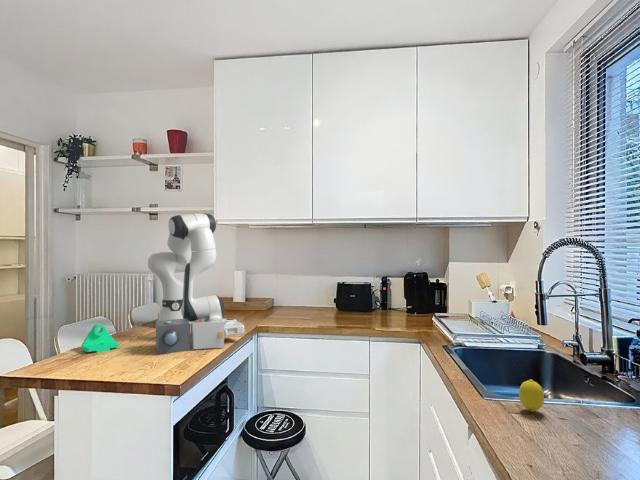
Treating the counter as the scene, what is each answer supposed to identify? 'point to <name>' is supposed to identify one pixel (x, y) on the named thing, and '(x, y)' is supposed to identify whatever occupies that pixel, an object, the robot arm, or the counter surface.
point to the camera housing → (172, 336)
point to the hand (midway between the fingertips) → (224, 334)
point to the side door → (207, 335)
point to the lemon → (531, 395)
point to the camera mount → (99, 340)
